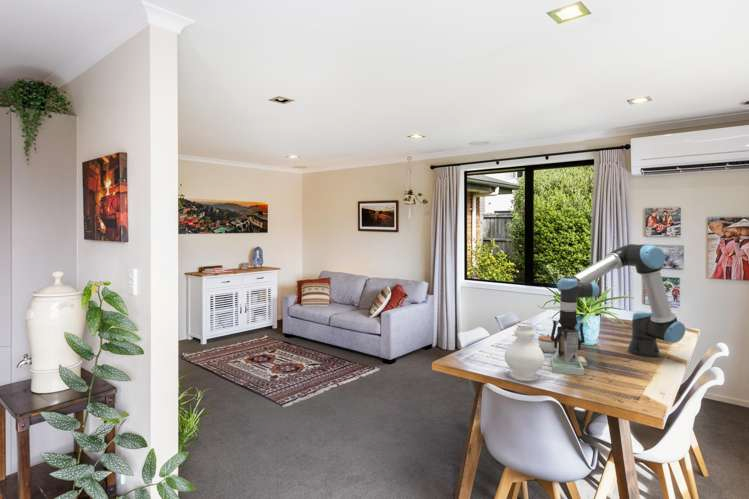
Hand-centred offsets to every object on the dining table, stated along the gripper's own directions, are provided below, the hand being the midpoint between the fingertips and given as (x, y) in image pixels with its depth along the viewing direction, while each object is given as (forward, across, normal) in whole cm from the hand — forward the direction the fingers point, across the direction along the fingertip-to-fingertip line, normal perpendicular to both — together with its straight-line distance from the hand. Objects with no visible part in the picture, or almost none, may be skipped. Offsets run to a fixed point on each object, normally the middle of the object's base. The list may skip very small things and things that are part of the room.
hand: (566, 355), depth 217 cm
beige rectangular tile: (+7, -6, -14) cm, 17 cm away
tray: (+7, 0, 0) cm, 7 cm away
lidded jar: (+7, +6, -31) cm, 32 cm away
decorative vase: (+7, +20, +18) cm, 28 cm away
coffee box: (+3, 0, 0) cm, 3 cm away
